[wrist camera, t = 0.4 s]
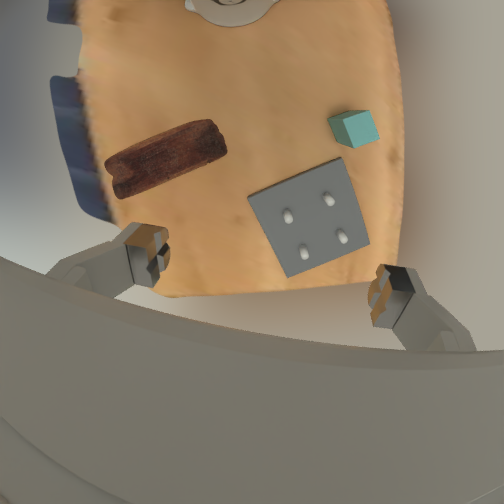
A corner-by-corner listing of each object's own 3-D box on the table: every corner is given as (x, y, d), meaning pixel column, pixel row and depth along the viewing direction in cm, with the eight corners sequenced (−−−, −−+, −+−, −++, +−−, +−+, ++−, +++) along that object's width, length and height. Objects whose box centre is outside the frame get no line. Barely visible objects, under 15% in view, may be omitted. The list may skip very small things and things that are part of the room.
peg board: (247, 196, 53) (246, 205, 48) (340, 157, 49) (348, 161, 44) (286, 274, 61) (288, 288, 57) (367, 241, 57) (376, 252, 52)
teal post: (327, 118, 45) (342, 119, 36) (349, 110, 44) (369, 110, 35) (337, 142, 47) (353, 148, 38) (359, 134, 46) (379, 138, 37)
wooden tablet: (214, 112, 45) (230, 161, 48) (217, 113, 47) (231, 161, 50) (100, 160, 49) (114, 203, 52) (106, 160, 51) (119, 201, 54)
